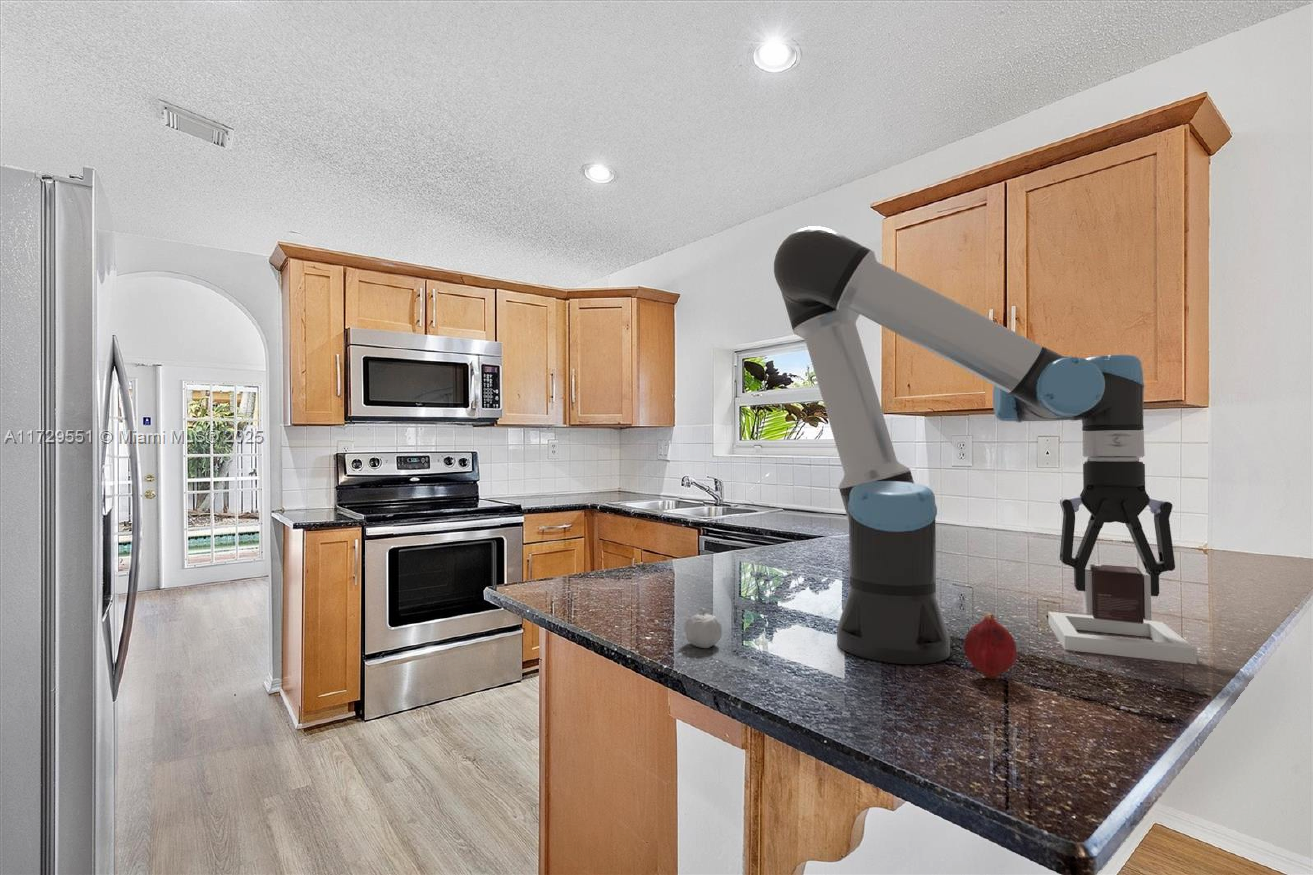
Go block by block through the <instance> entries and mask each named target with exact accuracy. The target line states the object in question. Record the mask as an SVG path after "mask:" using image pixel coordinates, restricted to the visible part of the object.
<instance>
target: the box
mask: <svg viewBox="0 0 1313 875" xmlns="http://www.w3.org/2000/svg"><path fill="white" fill-rule="evenodd" d="M1089 567H1090V569H1089V570H1091V571H1092V616H1093V617H1094V618H1095V619H1101V620H1111V621H1120V622H1130V623H1138V624H1143V623H1144V621H1143V620H1144V619H1143V587H1142V573H1141V572H1142V571H1141V570H1140V569H1139V567H1136V566H1126V565H1125V566H1124V565H1112V564H1111V565H1110V564H1097V563H1096V564H1090V565H1089Z"/></svg>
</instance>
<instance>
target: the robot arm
mask: <svg viewBox="0 0 1313 875" xmlns="http://www.w3.org/2000/svg"><path fill="white" fill-rule="evenodd" d="M773 272H774V273H773V275H774V278H775V281H776V283H777V286H778V287H779V290H780V292H781V296H782V299H783V303H784V305H785V307H786V312H787V315H788V319H789V322H790V325H791V328H792V332H793V334H795V335H796V336H798V337H800V338H802V339H804V341H805V345H806V347H807V351H808V355H809V358H810V361H811V365H812V368H813V371H814V375H815V377H816V378H815V379H816V381H817V386H818V388H819V392H820V396H821V399H822V401H823V405H824V410H825V413H826V416H827V418H828V423H829V426H830V429H831V432H832V437H833V439H834V442H835V446H836V449H837V453H838V457H839V461H840V463H841V467H842V470H843V473H844V475H843V478H842V480H841V482H840V483H839V485H838V489H839V494H840V496H841V500H842V504H843V506H844V511H845V513H846V516H847V520H848V524H849V526H848V527H849V528H848V531H849V532H848V533H849V544H848V545H849V552H848V553H849V554H848V555H849V567H848V568H849V572H848V574H849V589H848V594H847V597H846V601H845V603H844V606H843V609H842V613H841V615H840V618H839V621H838V624H837V627H836V628H837V629H836V635H837V636H836V643H837V646H838V647H839V648H840V649H842V650H843V651H845V652H847V653H849V654H852V655H854V656H856V657H860V658H863V659H868V660H872V661H878V662H883V663H890V664H902V665H927V664H933V663H939V662H943V661H945V660H946V659H948V658H950V655H951V639H950V634H949V632H948V629H947V625H946V622H945V620H944V617H943V614H942V611H941V608H940V606H939V603H938V599H937V589H936V588H937V568H936V567H937V562H936V559H937V556H936V554H937V553H936V551H937V550H936V542H937V538H936V536H937V535H936V534H937V533H936V517H937V515H938V507H937V504H936V497H935V493H934V491H933V490H932V489H931V488H930V487H928V486H926V485H923V484H919V483H915V482H914V479H913V475H912V472H911V469H910V468H909V467H907V466H906V465H904V464H903V463H900V462H899V460H898V458H897V456H896V453H895V450H894V446H893V443H892V439H891V436H890V433H889V428H888V426H887V424H886V420H885V417H884V413H883V410H882V406H881V404H880V400H879V396H878V393H877V390H876V387H875V383H874V380H873V377H872V374H871V371H870V367H869V364H868V361H867V356H866V353H865V350H864V347H863V344H862V341H861V337H860V333H859V330H858V327H857V324H856V323H857V321H858V319H859V318H860V315H861V316H863V317H865V318H867V319H868V320H870V321H872V322H873V323H876V324H878V325H880V326H882V327H883V328H884V329H887V330H889V331H891V332H893V333H894V334H896V335H899V336H900V337H902V338H904V339H906V340H908V341H910V342H912V343H913V344H915V345H918V346H920V347H921V348H923V349H925V350H927V351H929V352H931V353H932V354H934V355H936V356H938V357H940V358H942V359H944V360H945V361H947V362H949V363H951V364H953V365H955V366H956V367H959V368H961V369H963V370H964V371H966V372H968V373H970V374H972V375H973V376H976V377H977V378H980V379H982V380H984V381H985V382H987V383H989V384H990V385H993V388H992V405H993V406H992V407H993V413H994V415H995V417H996V419H998V420H999V421H1001V422H1015V423H1022V422H1054V421H1055V422H1057V421H1058V422H1059V421H1073V422H1074V421H1081V425H1082V426H1081V429H1082V430H1081V431H1082V456H1083V458H1087V459H1086V461H1084V463H1082V472H1083V474H1082V475H1083V476H1082V480H1083V481H1082V482H1083V486H1082V487H1083V488H1082V491H1081V493H1079V494H1080V495H1079V496H1077V497H1072V498H1061V499H1060V500H1059V505H1060V507H1061V510H1062V525H1061V526H1062V527H1061V537H1060V538H1061V539H1060V548H1059V561H1060V562H1061V563H1062V564H1063V565H1065V566H1069V567H1071V568H1072V569H1073V582H1074V583H1073V586H1074V589H1075V590H1077V592H1082V611H1083V613H1084V615H1091V616H1093V614H1092V571H1091V570H1090V569H1089V568H1087V566H1088V563H1089V560H1090V558H1091V555H1092V553H1093V550H1094V547H1095V544H1096V542H1097V539H1098V537H1099V534H1100V532H1101V530H1102V528H1103V527H1104V524H1105V523H1107V524H1108V523H1109V524H1110V523H1115V522H1117V523H1120V524H1125V526H1126V528H1127V529H1128V532H1129V534H1130V536H1131V539H1132V541H1133V544H1134V546H1135V548H1136V551H1137V553H1138V555H1139V557H1140V560H1141V562H1142V564H1143V568H1144V569H1145V571H1141V573H1142V587H1143V620H1146V621H1152V597H1159V595H1160V575H1161V574H1162V573H1164V572H1168V571H1171V572H1173V571H1174V570H1175V569H1176V562H1175V554H1174V547H1173V539H1172V532H1171V531H1172V530H1171V524H1170V517H1171V513H1172V510H1173V503H1172V502H1169V501H1165V500H1157V499H1152V498H1150V496H1149V494H1148V492H1147V490H1146V464H1145V463H1144V462H1143V461H1140V458H1143V457H1145V436H1144V435H1145V434H1144V433H1145V432H1144V427H1145V426H1144V389H1145V383H1144V382H1145V381H1144V373H1143V366H1142V361H1141V360H1140V358H1139V357H1138V356H1136V355H1133V354H1108V355H1097V356H1091V357H1087V358H1082V357H1078V356H1077V357H1076V356H1063V355H1061V354H1059V353H1057V352H1055V351H1054V350H1051V349H1050V348H1048V347H1045V346H1043V345H1041V344H1040V343H1037V342H1035V341H1033V340H1031V339H1029V338H1027V337H1025V336H1023V335H1022V334H1019V333H1018V332H1015V331H1014V330H1012V329H1010V328H1008V327H1006V326H1004V325H1002V324H1000V323H998V322H996V321H994V320H992V319H990V318H988V317H986V316H984V315H982V314H980V313H979V312H977V311H974V310H972V309H970V308H969V307H967V306H965V305H963V304H961V303H959V302H957V301H955V300H953V299H952V298H949V297H947V296H945V295H943V294H941V293H940V292H938V291H936V290H933V289H931V288H929V287H928V286H926V285H923V284H921V283H920V282H919V281H916V280H913V279H912V278H910V277H908V276H906V275H905V274H902V273H900V272H898V271H896V270H895V269H892V268H891V267H888V266H886V265H884V264H882V263H881V262H879V261H877V259H876V254H875V251H874V250H872V249H870V248H867V247H866V246H864V245H862V244H860V243H858V242H856V241H854V240H852V239H851V238H849V237H846V235H844V234H843V235H842V234H841V233H839V232H837V231H835V230H832V229H830V228H826V227H823V226H822V227H821V226H808V227H804V228H800V229H797V230H796V231H794V232H792V233H791V234H789V235H788V236H787V237H786V238H785V239H784V240H783V241H782V243H781V244H780V246H779V247H778V249H777V251H776V254H775V257H774V261H773ZM1080 505H1083V507H1084V508H1086V510H1087V511H1088V512H1089V513H1090V517H1089V520H1088V522H1087V526H1086V530H1085V531H1084V534H1083V538H1082V539H1081V542H1080V545H1079V548H1078V550H1077V551H1076V555H1075V557H1073V550H1074V549H1073V548H1074V538H1075V525H1076V513H1077V512H1079V510H1080ZM1146 507H1149V510H1150V513H1151V514H1153V523H1154V531H1155V537H1156V538H1155V539H1156V547H1157V553H1158V560H1159V561H1157V560H1156V558H1155V556H1154V553H1153V550H1152V549H1151V546H1150V544H1149V542H1148V539H1147V536H1146V534H1145V532H1144V529H1143V526H1142V523H1141V520H1140V519H1139V516H1140V515H1141V513H1142V512H1143V511H1144V510H1145V508H1146Z"/></svg>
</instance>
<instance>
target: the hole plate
mask: <svg viewBox="0 0 1313 875" xmlns="http://www.w3.org/2000/svg"><path fill="white" fill-rule="evenodd" d="M1143 621H1144V623H1143V624H1138V623H1130V622H1120V621H1111V620H1101V619H1095V618H1094V617H1093V615H1086V614H1081V613H1080V614H1078V613H1066V612H1057V611H1056V612H1054V611H1048V626H1049V627H1050V628H1051V630H1052V632H1053V633H1054V635H1055V636H1056V639H1057V640H1058V641H1059V643H1060V644H1061V647H1062V648H1063V650H1065V651H1074V652H1080V653H1081V652H1083V653H1091V654H1099V655H1108V656H1119V657H1125V658H1127V657H1128V658H1135V659H1143V660H1144V659H1146V660H1155V661H1164V662H1171V661H1172V662H1173V663H1181V664H1189V663H1190V665H1191V664H1192V665H1198V649H1197V648H1196V647H1195V646H1193V645H1192V644H1191V643H1189V642H1188V641H1187V640H1186V639H1184V638H1183V637H1182V636H1180V635H1179V634H1178V633H1177V632H1175V631H1174V630H1173V629H1172V628H1170V627H1169V626H1168V625H1166V624H1165V623H1163V622H1162V621H1155V620H1145V619H1143ZM1077 630H1078V631H1088V632H1098V633H1107V634H1110V633H1111V634H1117V635H1118V634H1119V635H1128V636H1137V637H1148V638H1150V639H1152V640H1145V639H1144V640H1143V639H1137V638H1126V637H1125V638H1124V637H1114V636H1106V635H1105V636H1104V635H1095V634H1086V633H1085V634H1084V633H1078V632H1077ZM1172 662H1171V663H1172Z"/></svg>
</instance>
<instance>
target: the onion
mask: <svg viewBox="0 0 1313 875" xmlns="http://www.w3.org/2000/svg"><path fill="white" fill-rule="evenodd" d="M984 616H985V617H984V618H983V619H982V620H981V621H980V622H978V623H975V624H974V625H973V626H972V627H971V628H970V629H969V631H968V632H967V634H966V635H965V638H964V641H963V642H964V644H963V650H964V654H965V656H966V657H967V660H968V661H969V663H970V664H971V665H972V666H973V667H974V669H975V670H977V671H978V672H979V673H980V674H982V675H983V676H984V677H985V678H987V679H989V680H993V679H996V678H997V677H999V676H1000V675H1001V676H1002V675H1003V674H1004V673H1006V672H1007V671H1009V670H1010V669H1011V668H1012V667H1013V666H1014V664H1015V661H1016V659H1017V653H1018V652H1017V645H1016V642H1015V639H1014V637H1013V636H1012V634H1011V633H1010V632H1009V630H1008V629H1007V628H1006V627H1005V626H1003V625H1002V624H1001V623H999V622H998V621H997V620H996V619H995V615H994V614H993V613H991V612H988V613H985V615H984Z"/></svg>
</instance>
